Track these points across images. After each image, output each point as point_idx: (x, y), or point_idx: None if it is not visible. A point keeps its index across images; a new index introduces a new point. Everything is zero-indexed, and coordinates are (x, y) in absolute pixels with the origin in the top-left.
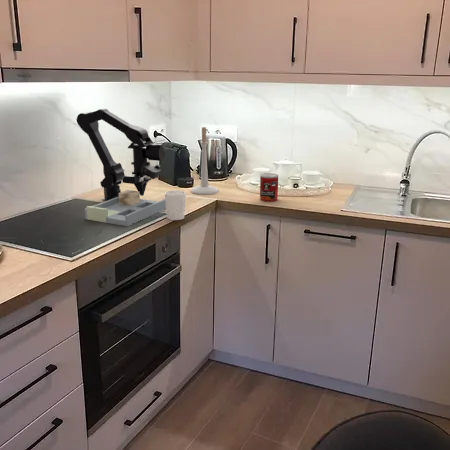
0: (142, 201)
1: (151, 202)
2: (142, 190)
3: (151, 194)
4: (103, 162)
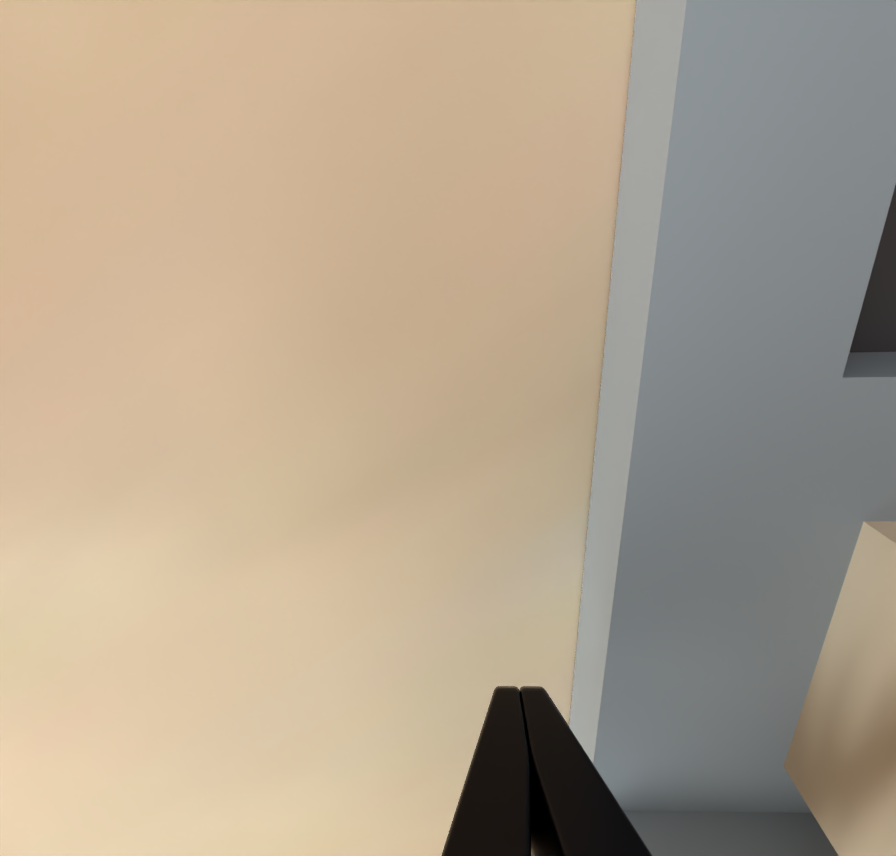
0: (809, 493)
1: (853, 216)
2: (621, 835)
3: (15, 715)
4: None
